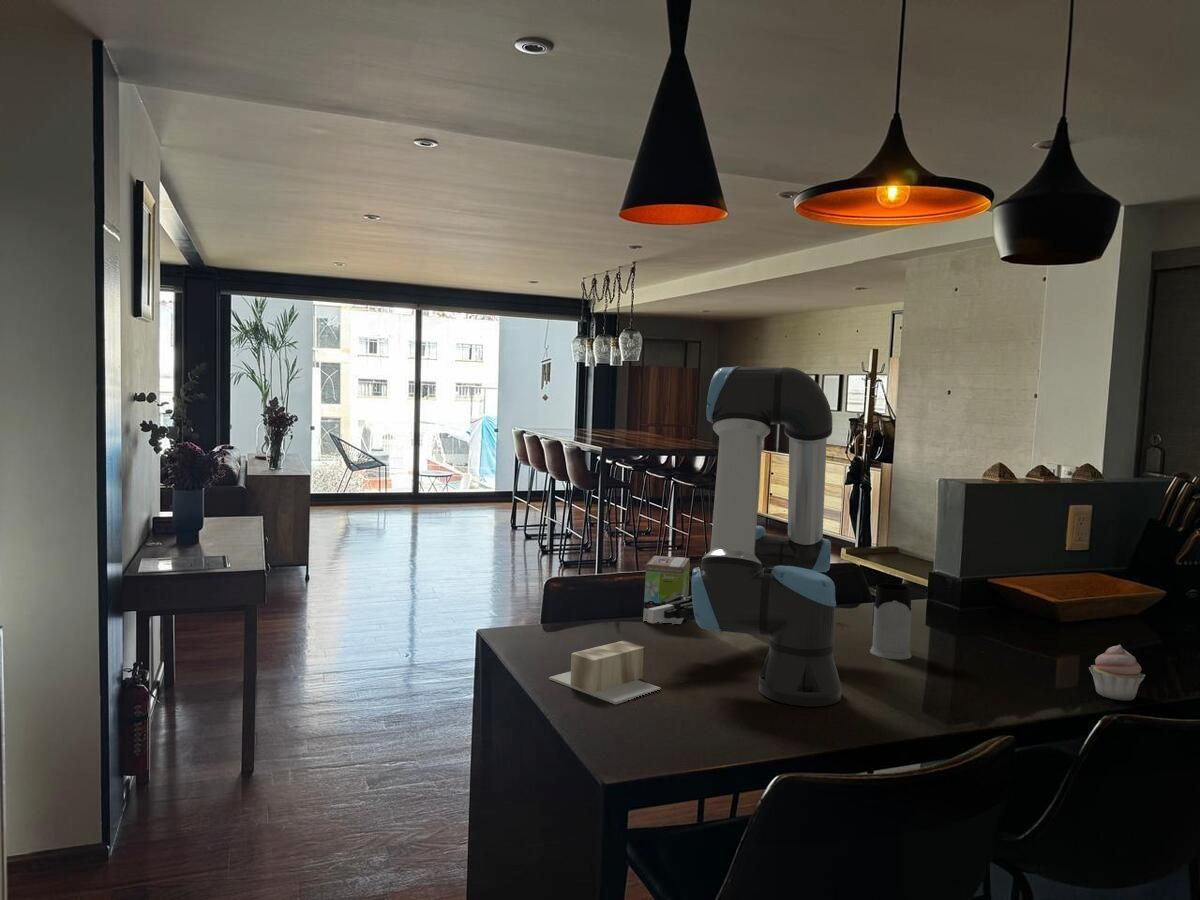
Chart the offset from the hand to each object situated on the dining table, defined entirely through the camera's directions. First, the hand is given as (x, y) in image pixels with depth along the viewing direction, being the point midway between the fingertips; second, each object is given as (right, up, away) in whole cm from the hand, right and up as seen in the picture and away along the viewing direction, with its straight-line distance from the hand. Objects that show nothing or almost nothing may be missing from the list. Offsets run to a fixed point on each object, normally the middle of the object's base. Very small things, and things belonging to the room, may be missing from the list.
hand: (650, 616), depth 168 cm
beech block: (-3, -8, -4) cm, 9 cm away
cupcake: (+90, -14, -7) cm, 91 cm away
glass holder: (+55, -12, +21) cm, 60 cm away
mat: (-9, -11, -9) cm, 17 cm away
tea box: (+7, -10, +46) cm, 47 cm away
